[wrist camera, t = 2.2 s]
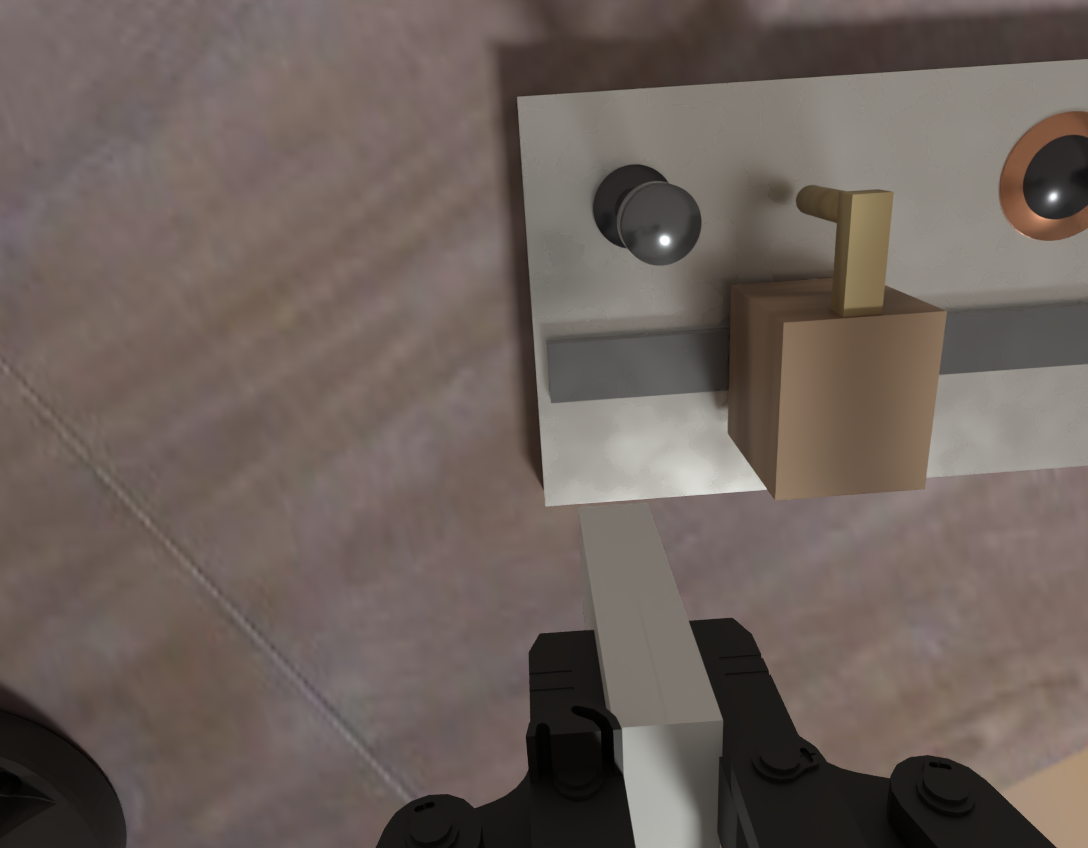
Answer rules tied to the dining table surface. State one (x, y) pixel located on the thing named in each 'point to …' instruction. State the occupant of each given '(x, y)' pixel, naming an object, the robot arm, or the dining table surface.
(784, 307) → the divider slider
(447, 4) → the dining table surface
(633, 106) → the bolt plate
